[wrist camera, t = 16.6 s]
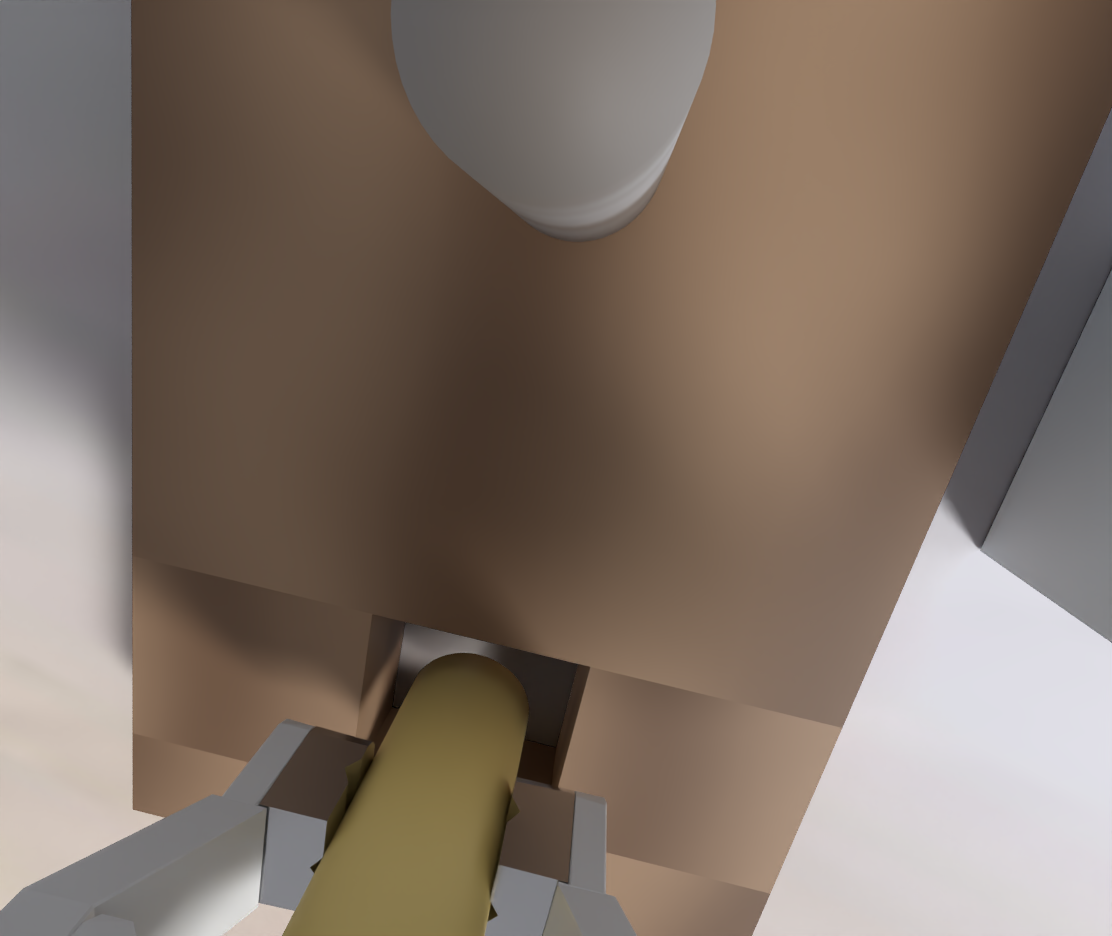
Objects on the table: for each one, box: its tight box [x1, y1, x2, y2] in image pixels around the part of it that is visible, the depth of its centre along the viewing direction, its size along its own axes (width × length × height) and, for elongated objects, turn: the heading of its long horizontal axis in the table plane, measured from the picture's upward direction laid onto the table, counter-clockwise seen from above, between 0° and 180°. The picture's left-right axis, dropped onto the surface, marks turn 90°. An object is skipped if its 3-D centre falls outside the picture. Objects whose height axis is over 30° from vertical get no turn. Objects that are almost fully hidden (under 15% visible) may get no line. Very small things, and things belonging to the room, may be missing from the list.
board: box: [131, 0, 1112, 936], centre depth 9 cm, size 13×18×6 cm
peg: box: [282, 653, 529, 936], centre depth 9 cm, size 2×2×6 cm
